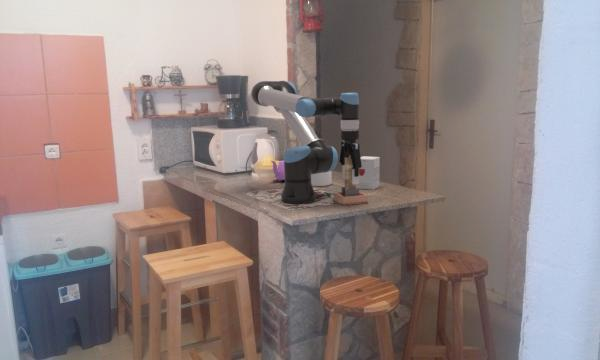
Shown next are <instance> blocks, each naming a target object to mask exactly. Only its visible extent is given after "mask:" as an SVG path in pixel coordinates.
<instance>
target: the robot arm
mask: <svg viewBox="0 0 600 360" xmlns="http://www.w3.org/2000/svg"><path fill="white" fill-rule="evenodd" d="M251 98H252V101H253V102H254V103H255V104H256V105H258V106H261V107H269V106H270V107H273V109H274V110H275V111H276V112H277V113H280V114H281V115H282V117H283V118H284V120H285V122H286V124H287V125H288V127H289V129H290V130H291V131H292V133H293V135H294V136H295V138H296V140H297V141H298V143H299V146H292V147H288V148H287V149H285V151H284V152H283V153H284V154H283V161H284V170H285V180H284V186H283V188H282V193H281V199H280V200H281V202H283V203H287V204H288V203H289V204H307V203H312V202H315V201H316V193H315V189H314V186H312V183H311V174H317V173H323V172H324V173H326V172H328V171H331V172H332V171H334V170H335V169H336V167H337V166H338V165H337V164H338V162H339V163H340V165H341V180H342V181H345V158H347V157H351V160H352V165H353V167H352V184H356V185H357V184H359V168H361V167H362V165H361V158H360V157H361V151H360V144H359V143H357V142H356V141H357V140H359V139H360V131H359V128H360V123H361V122H360V120H359V119H360V118H359V117H360V116H359V115H360V114H359V113H360V99H359V93H358V92H342V93H340V96H339V97H317V98H316V97H314V98H311V97H307V96H303V95H299V94H298V93H297V89H296V86H295V85H294V84H293V83H292V82H290V81H286V80H274V81H273V80H270V81H268V80H264V81H263V80H262V81H259V82H257V83H255V84H254V86H253V87H252V89H251ZM326 116H327V117H328V116H340V129H341V131H340V138H341V140H343V141H341V142H340V152H339V153H340V155H338V151H337V150H336V148H335V147H334V146H332V145H327V143H326V141H325V140H324V139H322V138H319V137H318V135H317V134H316V133H315V130H313V127H312V126H311V124H310V123H309V122H308V120H307V118H314V117H326ZM338 159H339V160H338Z"/></svg>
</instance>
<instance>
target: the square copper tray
mask: <svg viewBox="0 0 600 360" xmlns="http://www.w3.org/2000/svg"><path fill="white" fill-rule="evenodd" d="M346 194H347V197H345V186H341V191H334V192H333V201H334V202H336V203H338V204H340V205H341V206H354V205H364V204H368V202H369V201H368V200H369V199H368V198H369V197H368V194H366V193H364V192H361V191H360V189H359V188H357V187H356V189H346Z"/></svg>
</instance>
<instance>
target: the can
mask: <svg viewBox="0 0 600 360" xmlns="http://www.w3.org/2000/svg"><path fill="white" fill-rule="evenodd" d="M332 179H333V178H332V171H328V172H326V173H324V172H323V173H317V174H311V183H312V186H313V187H326V186H330V185H332Z"/></svg>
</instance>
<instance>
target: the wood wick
mask: <svg viewBox="0 0 600 360" xmlns="http://www.w3.org/2000/svg"><path fill="white" fill-rule="evenodd" d="M352 167H353V165H352V160H351V156H349V157H347V158H345V180H344V187H345V197H347V194H346V189H356V188H357V184H352Z"/></svg>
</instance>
